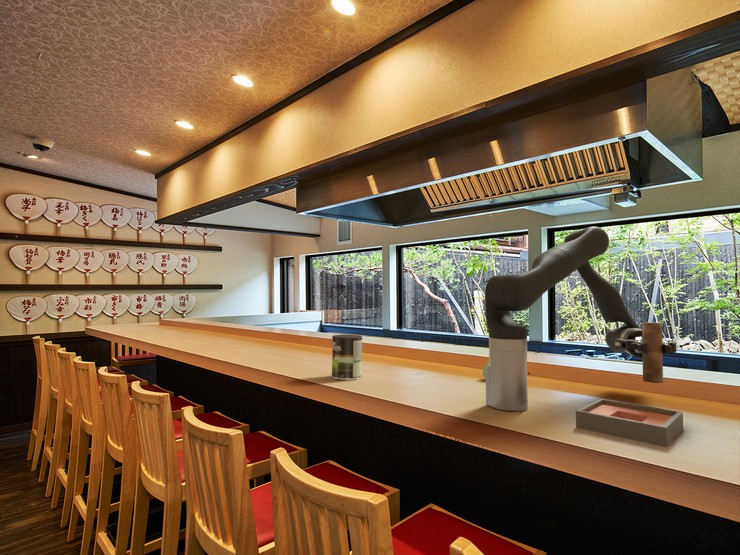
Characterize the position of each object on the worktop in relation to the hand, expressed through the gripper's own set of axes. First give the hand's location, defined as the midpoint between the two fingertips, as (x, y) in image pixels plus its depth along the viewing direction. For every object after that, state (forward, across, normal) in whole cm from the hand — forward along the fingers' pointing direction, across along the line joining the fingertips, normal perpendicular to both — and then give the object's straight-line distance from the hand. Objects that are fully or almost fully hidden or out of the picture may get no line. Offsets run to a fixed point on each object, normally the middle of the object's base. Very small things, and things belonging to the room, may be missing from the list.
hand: (655, 348), depth 98 cm
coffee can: (-15, -86, +17) cm, 88 cm away
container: (-41, -34, +16) cm, 56 cm away
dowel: (-3, 0, +8) cm, 8 cm away
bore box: (+12, -8, +16) cm, 21 cm away
